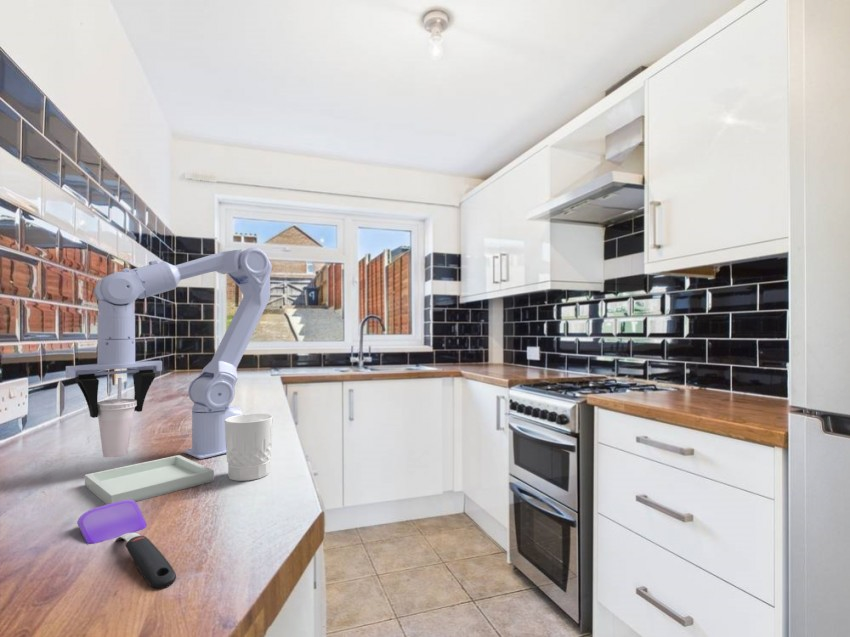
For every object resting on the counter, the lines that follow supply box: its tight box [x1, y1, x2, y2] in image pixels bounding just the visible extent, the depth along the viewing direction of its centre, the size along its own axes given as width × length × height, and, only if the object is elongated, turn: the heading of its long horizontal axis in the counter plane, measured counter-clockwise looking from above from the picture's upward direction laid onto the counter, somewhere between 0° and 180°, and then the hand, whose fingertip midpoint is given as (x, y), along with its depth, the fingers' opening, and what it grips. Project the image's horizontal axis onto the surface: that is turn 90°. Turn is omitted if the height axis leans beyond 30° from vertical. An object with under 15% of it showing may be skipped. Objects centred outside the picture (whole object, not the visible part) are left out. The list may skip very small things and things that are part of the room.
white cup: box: [225, 413, 274, 482], centre depth 79 cm, size 8×8×10 cm
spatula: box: [76, 500, 177, 589], centre depth 53 cm, size 24×7×2 cm, turn 47°
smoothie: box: [97, 377, 137, 458], centre depth 82 cm, size 6×6×14 cm
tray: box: [84, 454, 215, 505], centre depth 75 cm, size 15×15×2 cm
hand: (116, 413), depth 82 cm, fingers closed on smoothie, 6 cm apart
